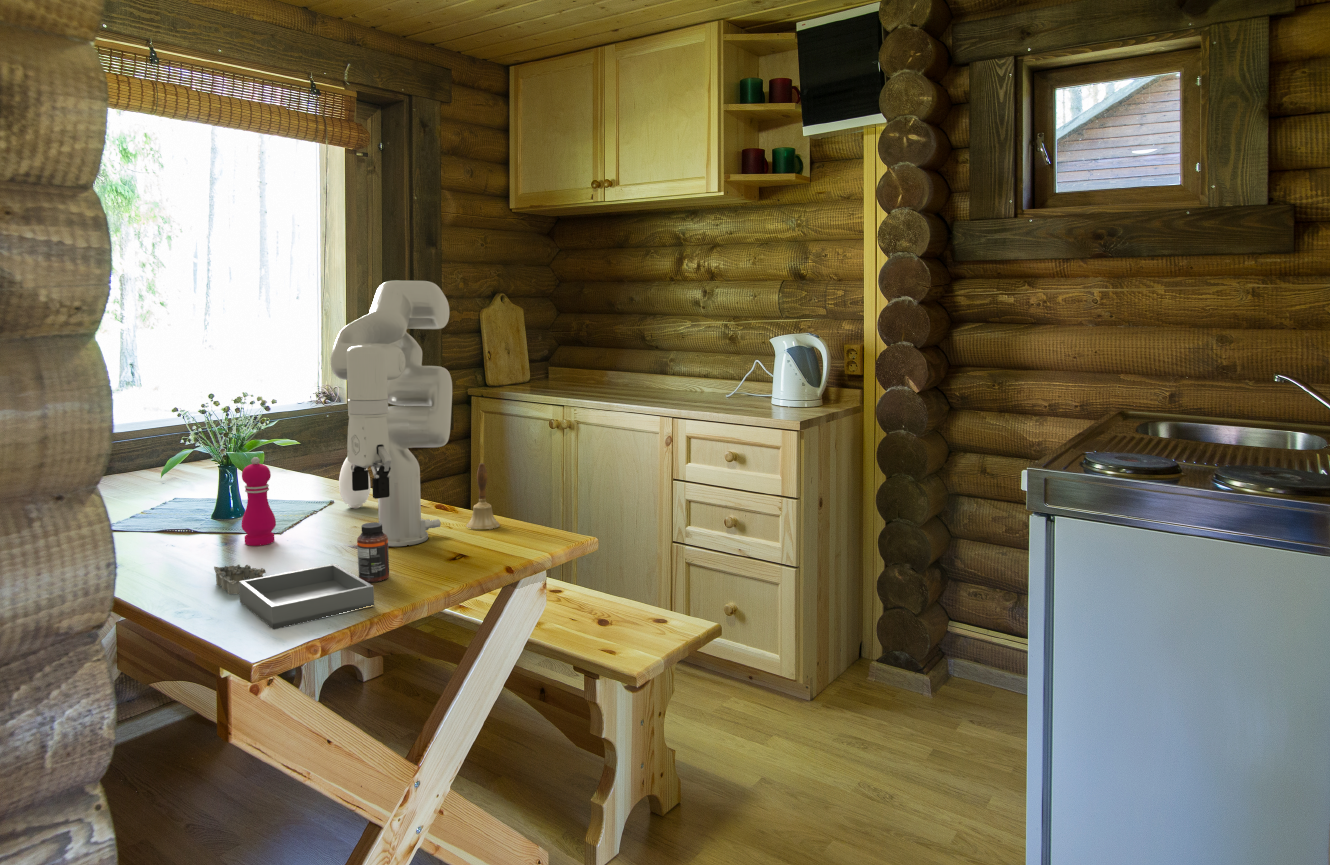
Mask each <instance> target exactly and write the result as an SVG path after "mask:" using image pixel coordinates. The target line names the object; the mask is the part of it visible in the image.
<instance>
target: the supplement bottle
mask: <svg viewBox="0 0 1330 865" xmlns="http://www.w3.org/2000/svg"><path fill="white" fill-rule="evenodd" d="M382 530H383V529H382V524H381V523H379V522H377V521H376V522H373V521H372V522H366V523H363V524H362V525H361V533H360V535H358V537H357V539H356V544H357V546H356V549H357V563H358V564H357V565H358V566H357V569H358V571H357V572H358V577H359V578H361V579H362V580H364V581H366V582H368V583H378V582H377V581H379V582H382V580H383V581H385V580H387V579H388V578H389V577H390V561H389V560H390V558H389V556H390V554H389V546H388V537H387V535H386V534H385V533H383V531H382ZM384 579H385V580H384Z"/></svg>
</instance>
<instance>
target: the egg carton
mask: <svg viewBox="0 0 1330 865" xmlns="http://www.w3.org/2000/svg"><path fill="white" fill-rule="evenodd" d="M213 569H214V573H215V583H216V586H221V590H224V591H225V590H226V591H227V594H228V595H240V589H239V581H243V580H245V579H248V580H249V579H254V578H260V577H265V576H264V575H263V574H266V570H265V568H257V567H256V568H255V567H251V565H249V564H246V565H245V566H241V565H240V564H237V565H229V566H228V565H224V566H222V567H220V566H213Z"/></svg>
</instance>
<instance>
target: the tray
mask: <svg viewBox="0 0 1330 865" xmlns="http://www.w3.org/2000/svg"><path fill="white" fill-rule="evenodd" d="M374 586H375V585H372V584H371V583H370V582H366V581H364V580H362V579H361V578H359V576H357V575H355V574H354V573H352V572H350V571H349V570H347V569H346V568H344V567H342V566H341V565H338V564H337V563H331V564H326V565H319V566H314V567H310V568H303V569H299V570H294V571H286V572H281V573H278V574H271V575H267V576H264V577H260V578H254V579H249V578H248V579H244V580H243V581H239V589H240V594H239V603H241V604H242V605H243V606H244V607H246V608H247V610H249V611H251V613H253V614H254V615H255V616H256V617H257V618H259V619H260V620H261V621H263V622H264V623H265V624H266V625H267V626H268V625H269V626H270V627H269V626H268V627H269V628H271V629H272V630H277V629H281V628H280V627H282V628H285V627H284V626H286V627H290V626H289V625H291V626H295V625H298V623H300V624H304V623H308V622H307V621H309V622H312V621H311V620H313V621H316V620H315V619H318V620H320V619H319V618H322V617H326V616H331V615H336V614H339V613H343V612H347V611H351V610H355V609H359V608H363V607H366V606H371V605H374V606H375V595H374V594H375V590H374V589H375V587H374ZM336 616H337V615H336ZM331 617H332V616H331ZM322 619H323V618H322ZM303 622H304V623H303ZM294 624H295V625H294Z"/></svg>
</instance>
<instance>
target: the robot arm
mask: <svg viewBox="0 0 1330 865" xmlns="http://www.w3.org/2000/svg"><path fill="white" fill-rule="evenodd" d="M449 318H450V305H449V302H448V299H447V297H446V295H445V294H444V292H443V291H442V289H441V288H440V287H439V286H438V285H437V284H436V283H434V282H432V281H427V280H401V279H400V280H397V279H395V280H388V281H385V282H383V283H382V284H380V285H379V286H378V287H377V289H376V291H375V294H374V298H373V301H372V304H371V306H370V308H369V313H368V314H365V315H363V316H361V317H360V318H359V317H358V319H355V320H353V321H351V322H350V323H348V324H347V325H345V326H344V327H343V328H342V329H341V330H340V331H339V333H338V334H337V336H336V339H335V341H334V344H333V347H332V351H331V355H330V369H331V370H332V373H333V374H334V376H336V378H338V379H340V380H345V381H346V382H347V383H346V384H347V412H348V414H347V415H348V424H347V425H348V426H347V440H346V441H347V444H346V447H347V449H346V450H347V455H346V456H347V457H346V458H347V459H348V461H349V462H350V463H351V464H352V465H351V470H352V489H353V491H361V490H368V489H369V479H368V472H369V470H366V468H367V469H368V468H369V467H370V469H371V471H372V475H373V478H371V479H372V480H371V483H372V484H371V485H372V486H371V487H372V498H373V499H375V500H377V506H378V513H377V514H378V523H381V524H382V529H383V530H382V531H383V533H385V534H386V535H387V537H388V547H408V546H407V545H409V546H414V545H418V544H422V543H424V542H426V541H428V540H429V532H427V531H429V529H436V528H440V527H441V520H440V519H439V518H437V519H430V518H428V519H424V518H422V509H421V508H422V506H421V504H422V503H421V469H420V463H419V460H417V458H416V457H415V455H414V454H413V453H412V452H411V451H410V450H409V448H410V449H413V448H440V447H444V446H445V445H446V444H447V443H448V442H449V439H450V434H451V426H452V425H451V423H452V405H453V404H452V403H453V381H452V377H451V374H450V371H448V369H447V368H445V367H444V366H443V367H442V366H441V365H439V366H437V365H423V364H422V363H423V350H422V348H421V345H419V342H417V340H416V339H415V338H414V337H413V336H412V335H410V334H409V333H408V332H407V330H408V329H410V330H411V329H413V330H414V329H415V330H417V329H418V330H419V329H420V330H442V329H443V328H445V327H446V326H447V324H448V322H449V320H450V319H449ZM389 404H390V405H391V406H389Z"/></svg>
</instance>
